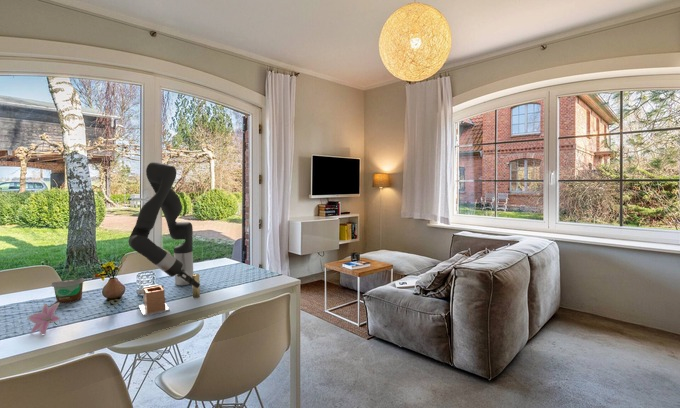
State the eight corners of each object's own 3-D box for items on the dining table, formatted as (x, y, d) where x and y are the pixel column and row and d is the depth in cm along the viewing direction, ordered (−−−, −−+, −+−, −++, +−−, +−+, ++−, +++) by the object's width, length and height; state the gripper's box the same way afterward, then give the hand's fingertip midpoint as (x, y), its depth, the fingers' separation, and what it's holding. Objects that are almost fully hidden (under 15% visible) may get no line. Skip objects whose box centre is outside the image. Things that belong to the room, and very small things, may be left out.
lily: (29, 330, 134) (16, 314, 128) (64, 310, 141) (53, 294, 136) (41, 347, 128) (27, 331, 122) (76, 326, 135) (65, 310, 130)
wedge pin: (192, 296, 168) (191, 274, 167) (198, 295, 169) (198, 273, 169) (193, 298, 165) (193, 276, 164) (200, 297, 167) (200, 274, 166)
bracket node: (138, 307, 154) (137, 286, 154) (163, 302, 161) (162, 282, 160) (143, 316, 144) (142, 294, 143) (169, 310, 150) (168, 289, 149)
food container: (49, 306, 156) (47, 284, 155) (53, 301, 161) (51, 280, 160) (83, 301, 162) (81, 280, 161) (85, 297, 167) (84, 277, 166)
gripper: (178, 260, 155) (206, 281, 162) (171, 255, 166) (197, 274, 174) (166, 274, 152) (194, 294, 160) (159, 267, 163) (186, 286, 171)
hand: (196, 284), depth 167 cm, fingers open, 8 cm apart
